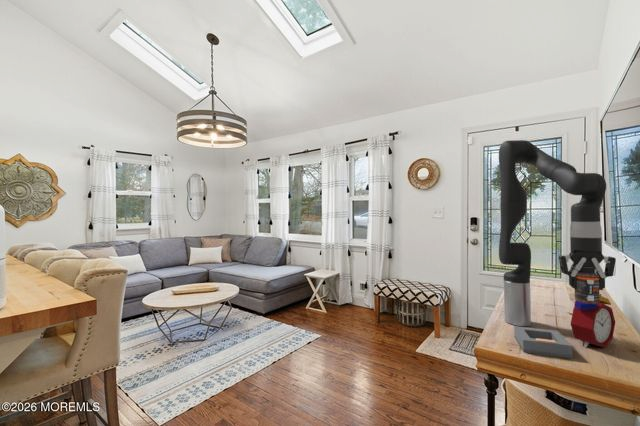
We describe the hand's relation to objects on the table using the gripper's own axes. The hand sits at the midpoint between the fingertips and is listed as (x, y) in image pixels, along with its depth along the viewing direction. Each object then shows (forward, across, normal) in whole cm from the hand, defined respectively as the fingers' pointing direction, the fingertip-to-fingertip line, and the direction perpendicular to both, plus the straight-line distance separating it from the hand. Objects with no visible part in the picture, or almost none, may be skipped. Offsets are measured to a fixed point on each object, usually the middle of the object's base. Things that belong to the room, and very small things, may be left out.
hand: (586, 288), depth 95 cm
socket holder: (+21, +12, -3) cm, 25 cm away
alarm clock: (+22, -5, -12) cm, 25 cm away
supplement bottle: (+4, 0, 0) cm, 4 cm away
